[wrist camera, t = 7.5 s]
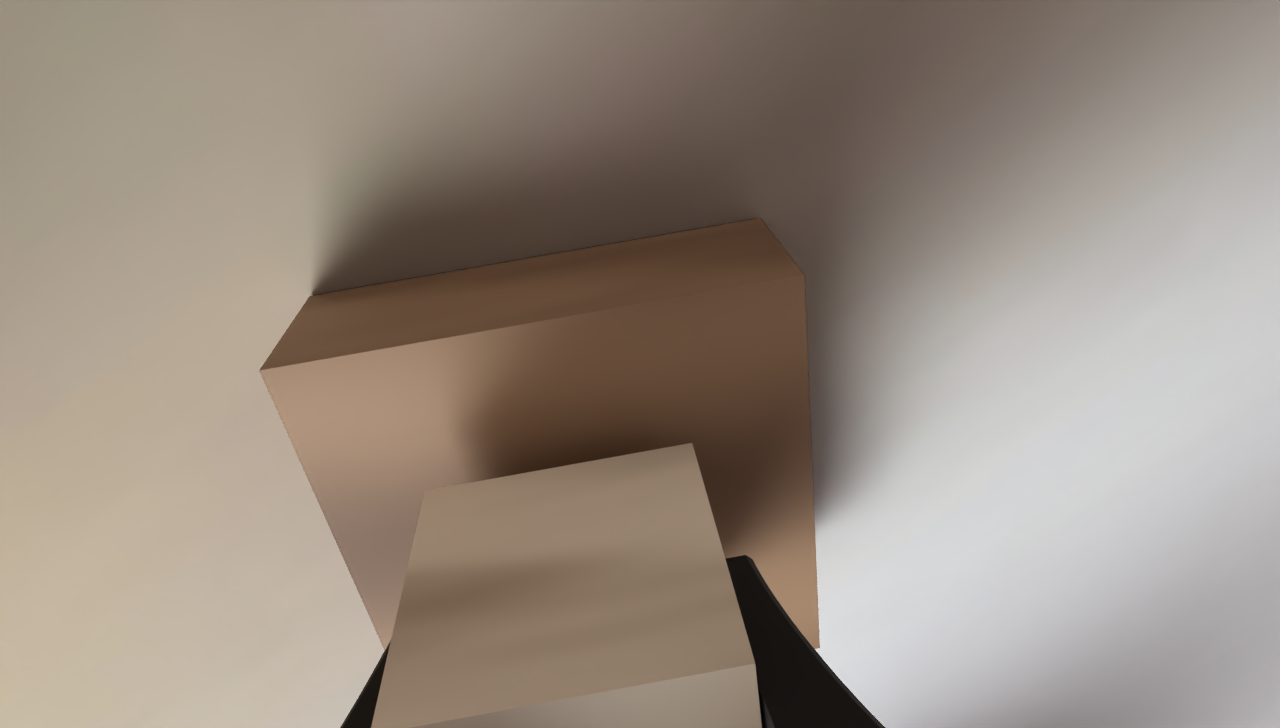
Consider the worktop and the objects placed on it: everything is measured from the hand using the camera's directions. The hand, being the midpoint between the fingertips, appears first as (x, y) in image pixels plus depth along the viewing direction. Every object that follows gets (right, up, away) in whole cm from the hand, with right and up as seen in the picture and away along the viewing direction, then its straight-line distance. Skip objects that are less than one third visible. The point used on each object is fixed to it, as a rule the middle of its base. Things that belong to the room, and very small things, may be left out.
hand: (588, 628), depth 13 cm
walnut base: (-1, +3, +5) cm, 5 cm away
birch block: (0, +1, +1) cm, 1 cm away
